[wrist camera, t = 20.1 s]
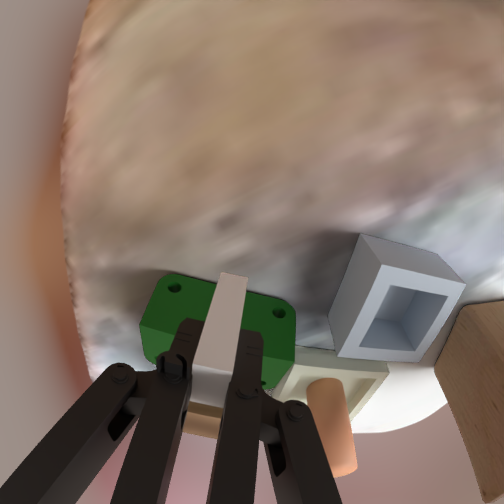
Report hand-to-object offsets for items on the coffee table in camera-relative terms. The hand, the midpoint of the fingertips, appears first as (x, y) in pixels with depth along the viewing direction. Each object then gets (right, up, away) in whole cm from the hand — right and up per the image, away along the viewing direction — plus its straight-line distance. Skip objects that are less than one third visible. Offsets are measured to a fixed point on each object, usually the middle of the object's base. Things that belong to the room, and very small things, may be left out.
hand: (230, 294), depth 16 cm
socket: (+12, -1, +7) cm, 14 cm away
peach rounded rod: (+9, -12, +11) cm, 19 cm away
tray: (+9, -12, +12) cm, 19 cm away
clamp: (-1, -3, +9) cm, 10 cm away
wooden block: (+27, -7, +9) cm, 30 cm away
